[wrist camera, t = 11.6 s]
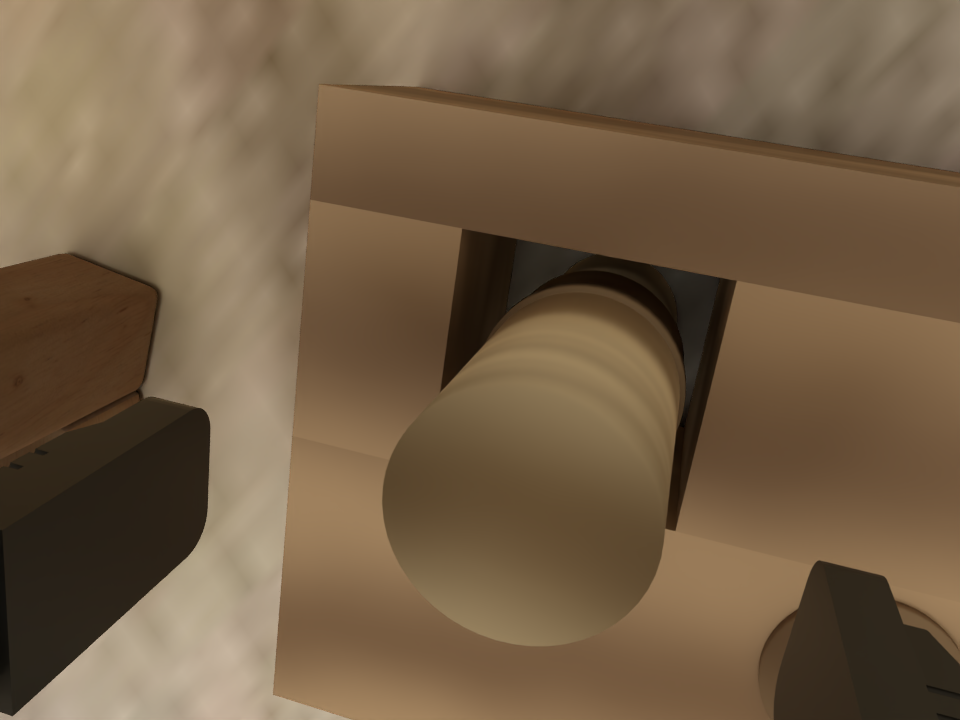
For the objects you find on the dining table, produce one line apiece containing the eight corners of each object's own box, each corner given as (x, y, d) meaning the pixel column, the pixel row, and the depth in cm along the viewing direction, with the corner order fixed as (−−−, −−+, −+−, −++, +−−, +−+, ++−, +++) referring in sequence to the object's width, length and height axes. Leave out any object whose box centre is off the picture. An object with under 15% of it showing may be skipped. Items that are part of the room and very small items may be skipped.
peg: (549, 224, 23) (392, 347, 12) (708, 254, 22) (703, 417, 11) (523, 371, 24) (362, 607, 13) (673, 404, 23) (636, 686, 12)
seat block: (415, 87, 23) (312, 83, 17) (1180, 207, 19) (1385, 256, 13) (361, 573, 27) (267, 702, 22) (962, 741, 24) (1041, 948, 18)
